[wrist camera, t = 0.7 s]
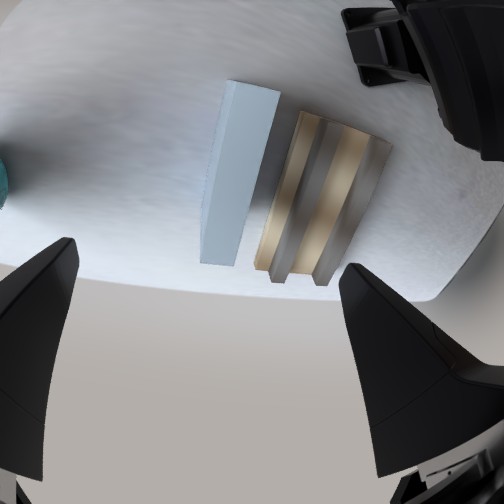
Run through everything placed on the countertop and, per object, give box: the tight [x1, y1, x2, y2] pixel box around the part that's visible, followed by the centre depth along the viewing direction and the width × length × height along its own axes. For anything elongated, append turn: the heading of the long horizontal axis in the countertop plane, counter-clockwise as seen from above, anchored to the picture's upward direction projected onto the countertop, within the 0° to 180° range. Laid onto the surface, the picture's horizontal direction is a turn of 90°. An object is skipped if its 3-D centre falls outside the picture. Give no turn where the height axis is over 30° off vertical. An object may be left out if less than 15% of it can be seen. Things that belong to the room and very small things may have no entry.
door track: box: [254, 111, 392, 286], centre depth 21 cm, size 14×8×2 cm, turn 166°
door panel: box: [200, 80, 281, 266], centre depth 16 cm, size 10×2×7 cm, turn 166°
